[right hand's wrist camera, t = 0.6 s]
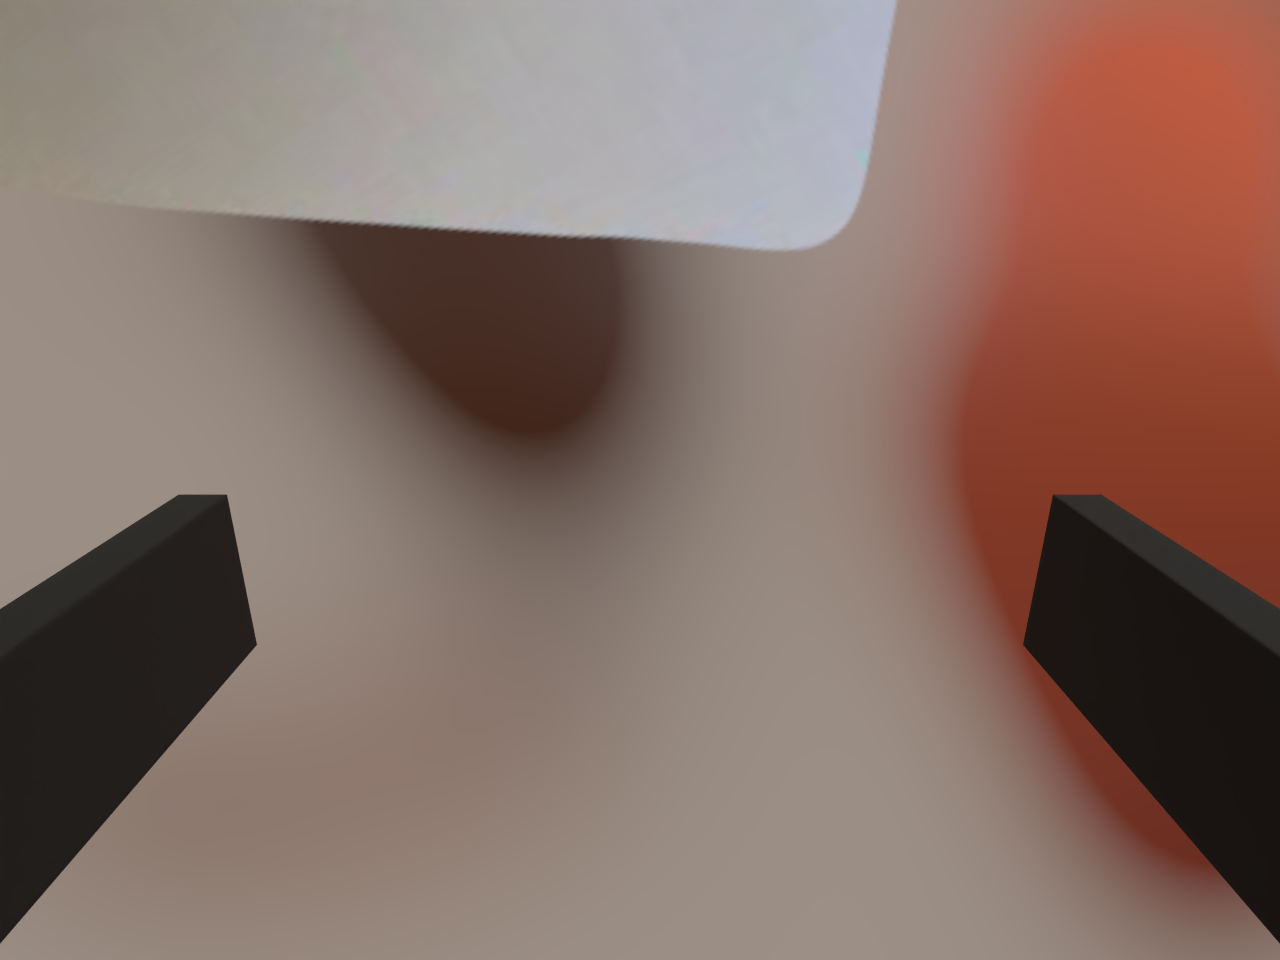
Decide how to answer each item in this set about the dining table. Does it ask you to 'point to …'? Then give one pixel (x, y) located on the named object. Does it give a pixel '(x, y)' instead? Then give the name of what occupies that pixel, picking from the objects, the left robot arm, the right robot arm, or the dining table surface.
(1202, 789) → the right robot arm
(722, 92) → the dining table surface
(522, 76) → the dining table surface
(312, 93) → the dining table surface
